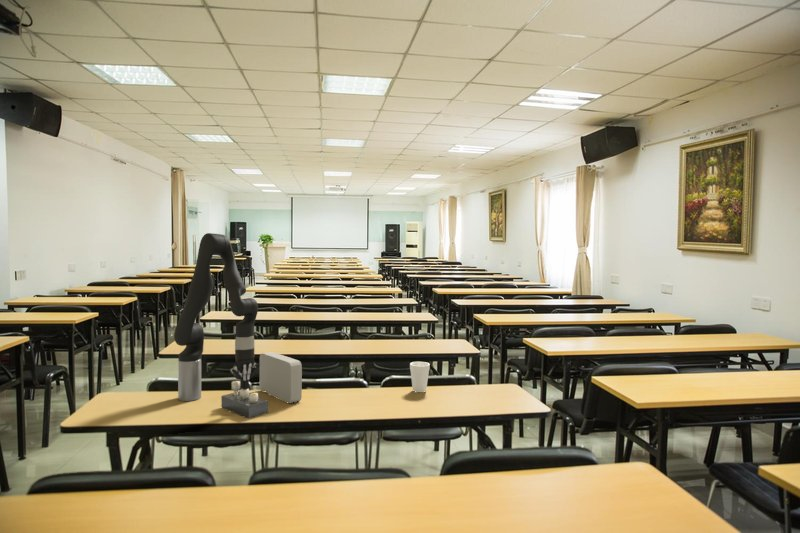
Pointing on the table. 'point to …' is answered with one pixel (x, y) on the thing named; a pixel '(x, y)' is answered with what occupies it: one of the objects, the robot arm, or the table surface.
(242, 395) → the knob
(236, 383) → the knob
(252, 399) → the knob
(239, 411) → the mount
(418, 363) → the foam cup
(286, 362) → the rounded white slab
